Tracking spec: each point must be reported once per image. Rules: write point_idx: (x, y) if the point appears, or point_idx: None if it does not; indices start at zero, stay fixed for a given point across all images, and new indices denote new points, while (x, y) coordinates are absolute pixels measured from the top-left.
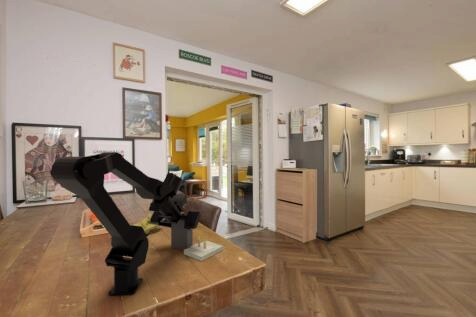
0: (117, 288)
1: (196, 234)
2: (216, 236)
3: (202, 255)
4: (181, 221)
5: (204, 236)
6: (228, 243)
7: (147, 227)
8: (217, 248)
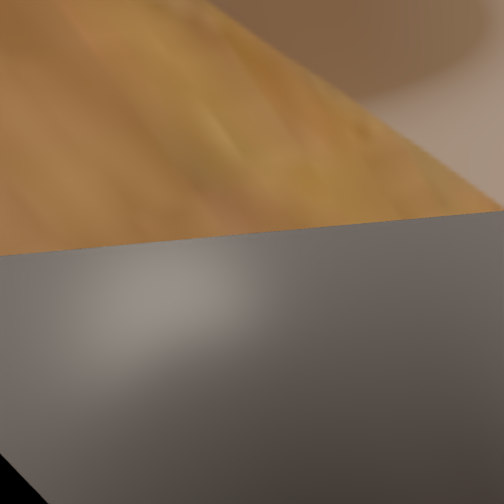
0: None
1: (165, 93)
2: (323, 94)
3: None
4: None
5: (249, 114)
6: (445, 173)
7: None
8: None
